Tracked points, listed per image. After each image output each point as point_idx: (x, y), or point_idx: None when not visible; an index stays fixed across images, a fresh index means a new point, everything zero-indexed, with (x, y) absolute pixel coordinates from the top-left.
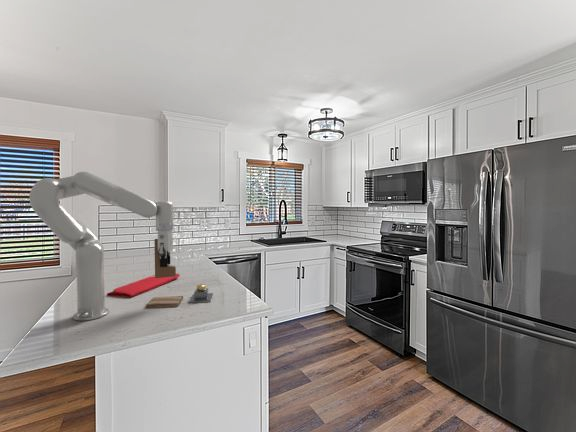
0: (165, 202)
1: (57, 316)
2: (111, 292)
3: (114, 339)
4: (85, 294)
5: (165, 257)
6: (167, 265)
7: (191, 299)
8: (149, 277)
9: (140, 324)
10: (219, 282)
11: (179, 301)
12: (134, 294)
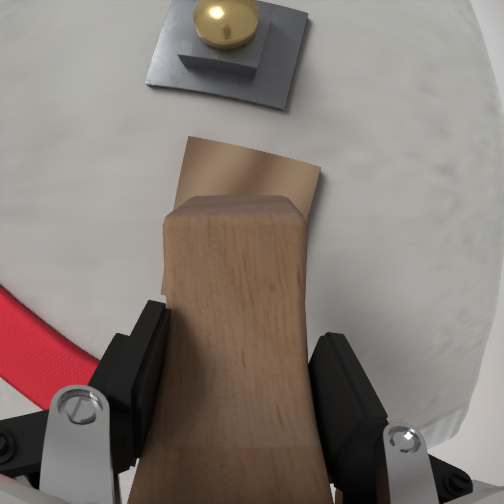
0: None
1: None
2: None
3: (477, 339)
4: None
5: (420, 441)
6: (333, 336)
7: (253, 93)
8: None
9: (437, 302)
10: (5, 4)
11: (292, 159)
12: (95, 364)
